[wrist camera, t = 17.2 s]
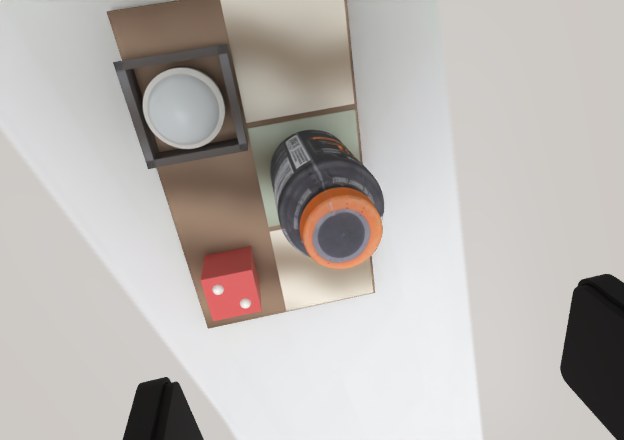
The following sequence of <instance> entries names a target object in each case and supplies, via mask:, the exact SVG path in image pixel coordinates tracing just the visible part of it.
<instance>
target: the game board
mask: <svg viewBox="0 0 624 440" xmlns="http://www.w3.org/2000/svg"><path fill="white" fill-rule="evenodd" d="M107 14H108V17H109V20H110V24H111V27H112V30H113V33H114V36H115V39H116V42H117V45H118V49H119V52H120V55H121V58H122V61H118V62H113V63H114V66H115V69H116V72H117V75H118V78H119V81H120V85H121V88H122V91H123V94H124V97H125V100H126V103H127V106H128V109H129V112H130V115H131V118H132V121H133V124H134V127H135V130H136V133H137V136H138V139H139V142H140V145H141V148H142V151H143V154H144V157H145V160H146V163H147V166H148V169H151V168H156V167H157V170H158V174H159V177H160V180H161V183H162V186H163V189H164V192H165V195H166V199H167V202H168V205H169V208H170V211H171V214H172V217H173V220H174V224H175V227H176V230H177V233H178V236H179V239H180V242H181V245H182V249H183V252H184V255H185V258H186V261H187V264H188V267H189V270H190V274H191V277H192V280H193V283H194V286H195V289H196V292H197V295H198V299H199V302H200V305H201V308H202V311H203V314H204V317H205V320H206V324H207V327H208V328H213V327H218V326H222V325H227V324H231V323H236V322H241V321H245V320H250V319H255V318H259V317H264V316H269V315H273V314H278V313H283V312H287V311H292V310H297V309H301V308H306V307H310V306H315V305H320V304H324V303H329V302H334V301H338V300H343V299H348V298H352V297H357V296H362V295H366V294H371V293H375V287H374V277H373V266H372V256H370V257H369V258H368V259H367V260H365V261H364V262H363V263H361V264H359V265H357V266H355V267H352V268H348V269H331V268H327V267H324V266H322V265H320V264H319V263H317V262H316V261H314V260H313V259H312V258H311V257H308V256H306V255H304V254H302V253H301V252H299V251H298V250H297V249H295V248H294V247H293V246H292V245H291V244H290V243H289V241H288V240H287V239H286V237H285V235H284V234H283V232H282V229H281V226H280V222H279V218H278V213H277V210H276V203H275V197H274V192H273V187H272V182H271V176H270V166H271V161H272V157H273V155H274V153H275V151H276V149H277V148H278V146H279V145H280V144H281V143H282V142H283V141H284V140H285V139H286V138H287V137H289V136H291V135H292V134H294V133H297V132H300V131H304V130H320V131H325V132H328V133H330V134H332V135H334V136H335V137H337V138H338V139H339V140H340V141H341V142H342V143H343V144H344V145H345V146H346V147H347V149H348V150H349V151H350V152H351V153H352V154H353V155H354V156H355V157H356V158H357V159H358V160H359V161H360V162H361V164H362V153H361V143H360V133H359V123H358V112H357V102H356V92H355V82H354V71H353V61H352V51H351V40H350V30H349V20H348V10H347V0H179V1H173V2H166V3H159V4H153V5H146V6H140V7H133V8H127V9H120V10H114V11H107ZM178 66H190V67H195V68H198V69H200V70H203V71H204V72H206V73H208V74H209V75H210V76H211V77H213V78H214V79H215V80H216V82H217V83H218V84H219V86H220V88H221V89H222V92H223V94H224V97H225V103H226V111H225V117H224V121H223V125H222V127H221V129H220V131H219V133H218V134H217V136H216V137H215V138H214V139H213V140H212V141H210V142H209V143H207V144H206V145H204V146H201V147H198V148H194V149H181V148H177V147H173V146H171V145H168V144H167V143H165V142H163V141H162V140H160V139H159V138H158V137H157V136H156V135H155V134H154V133H153V132H152V130H151V129H150V128H149V126H148V124H147V122H146V120H145V117H144V113H143V97H144V93H145V90H146V88H147V86H148V85H149V83H150V82H151V81H152V80H153V79H154V78H155V77H156V76H157V75H159V74H160V73H162V72H164V71H167V70H169V69H171V68H174V67H178ZM249 246H251V249H252V253H253V257H254V261H255V266H256V270H257V274H258V278H259V282H260V292H261V306H262V311H260V312H255V313H250V314H246V315H241V316H236V317H232V318H227V319H222V320H218V321H213V319H212V316H211V313H210V310H209V306H208V303H207V300H206V297H205V294H204V290H203V287H202V284H201V281H200V280H201V274H202V268H203V263H204V257H205V255H210V254H215V253H220V252H225V251H229V250H234V249H239V248H244V247H249Z"/></svg>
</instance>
